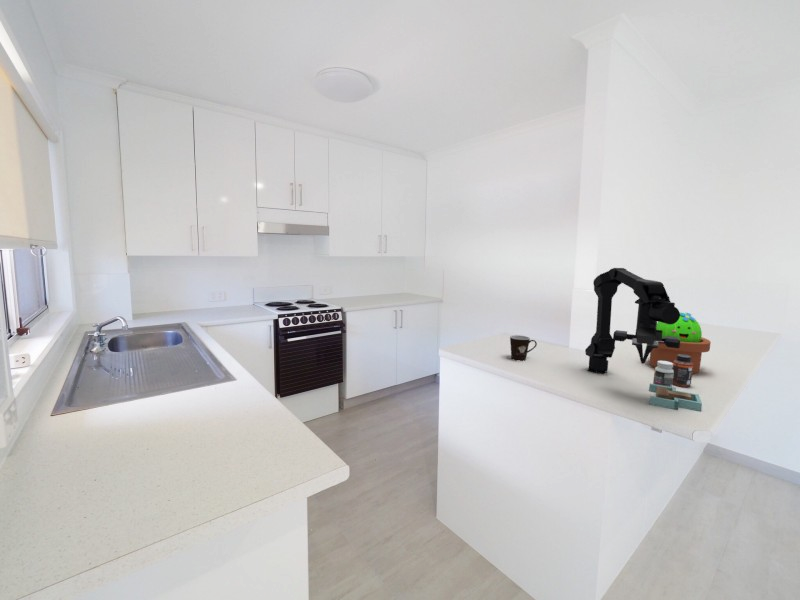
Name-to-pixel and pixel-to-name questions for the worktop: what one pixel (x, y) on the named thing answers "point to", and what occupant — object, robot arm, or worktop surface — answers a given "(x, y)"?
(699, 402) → the teal angular frame
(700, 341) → the potted cactus
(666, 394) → the t block
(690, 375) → the supplement bottle
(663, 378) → the pill bottle
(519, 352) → the coffee mug
